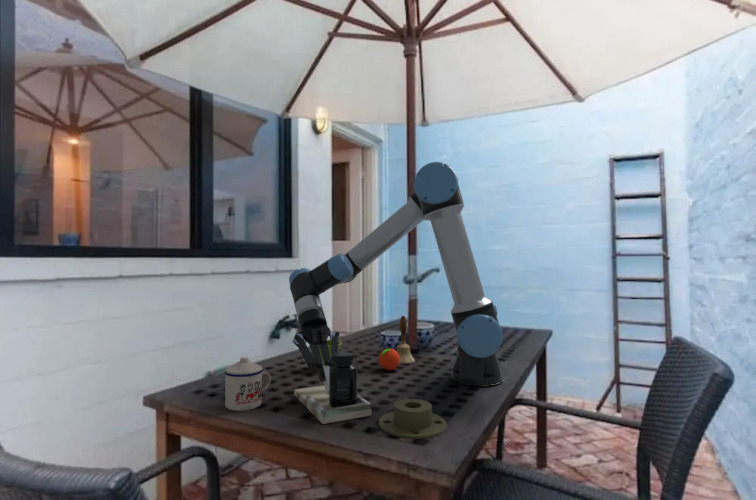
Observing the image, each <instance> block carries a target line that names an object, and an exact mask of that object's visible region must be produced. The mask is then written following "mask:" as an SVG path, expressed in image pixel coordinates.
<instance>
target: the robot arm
mask: <svg viewBox="0 0 756 500" xmlns="http://www.w3.org/2000/svg"><path fill="white" fill-rule="evenodd" d="M413 181H414V182H413V189H414V192H413V193H411V195H410V196H408V201H407V202H406V203H405V204H403V205H402V206H401V207H400V208H399V209H397V211H395V212H394V213H393V214H392V215H390V216H389V217H388V218H386V220H385V221H384V222H382V223H381V224H380V225H378V226H377V227H376V228H375V229H374V230H372V232H371V231H370V233H369V234H368V235H367V236H365V237H364V238H363V239H361V241H359V242H358V243H356V245H354V246H353V247H352V248H351V249H350V250H349V251H347V252H346V253H345V254H344V253H337V254H335V255H334V256H331V257H329V258H328V259H327V260H326V261H324V262H323V263H321V264H319V265H317V266H316V267H314V268H313V269H309V268H306V267H302V268H299V269H296V270H294V271H292V272H291V274H290V275H289V278H288V280H289V281H288V282H289V291H290V293H291V296H292V300H293V304H294V310H295V313H296V317H297V322H298V326H299V329H300V332H299V334H296V335H294V338H293V341H292V343H293V344H294V345H295V346H296V347H297V348H298V350H299V353H301V356H302V358H303V360H304V361H305V363H306V366H307V367H308V370H310V371H313V370H314V371H315V373H316V374H317V375H318V379H319V381H320V382H321V383H322V382H323V384H324V386H325V390H326V394H327V395H329V369H330V367H331V366H332V365H334V363H333V355H334V354H336V353H339V352H338V341H339V340H338V339H339V337H340V336H341V335H340V332H339V331H336V332H335V331H334V332H333V331H331V329H330V327H329V325H328V322H327V318H326V315H325V312H324V308H323V305H322V301H321V298H320V295H321V294H323V293H325V292H326V291H328V290H329V289H332V288H333V287H335V286H337V285H340V284H347V283H350V282H352V281H354V280H355V279H356V278H357V276H358V275H359V274H360V273H361V272H362V271H363V270H364V269H366V268H367V267H368V266H369V265H371V264H372V263H373V262H374V261H375V260H377V259H378V258H379V257H380V256H382V255H383V254H384V253H385V252H387V251H388V250H389V249H391V248H392V247H393V246H394V245H395V244H397V242H399V241H400V240H402V239H403V237H405V236H406V235H407V234H409V233H410V232H411V231H413V229H414V228H416V227H417V226H418V225H419V224H421V223H422V222H423V221H429V222H430V224H431V228H432V230H433V234H434V237H435V241H436V245H437V249H438V252H439V255H440V258H441V259H440V260H441V262H442V265H443V270H444V273H445V277H446V279H447V283H448V286H449V290H450V294H451V296H452V297H451V298H452V301H453V306H452V308H451V310H450V314H451V317H452V321H453V325H454V328H455V330H456V331H455V332H456V340H457V345H456V346H457V353H456V355H455V360H454V362H453V365H452V368H451V370H450V371H451V375H450V377H451V380H452V381H454V382H456V383H459V384H462V383H463V384H462V385H466V384H469V385H468V386H472V385H491V384H496V383H498V382H501V381H502V382H503V372H502V368H501V364H500V363H499V362H500V361H499V360H498V356H497V352H498V350H499V349H500V347H501V345H502V343H503V338H504V332H503V328H502V326H501V325H500V323H499V319H498V317H497V316H498V309H497V306H496V305H495V304H494V302H493V300H492V299H490V298H488V297H487V296H486V295H485V292H484V289H483V285H482V282H481V277H480V274H479V271H478V268H477V265H476V261H475V258H474V254H473V250H472V247H471V243H470V241H469V237H468V234H467V231H466V227H465V222H464V220H463V215H462V211H463V209H464V207H465V204H464V199H463V196H462V192H461V190H460V186H459V177H458V175H457V173H456V171H455V170H454V169H453V168H452V166H450V165H449V164H447V163H444V162H441V161H433V162H429V163H427V164H425V165H423V166H422V167H421V168H420V169H419V170H418V171H417V173H416V175H415V177H414V180H413ZM328 338H329V340H331V341H332V342H331V356H330V353H329V349H328V346H327V340H328ZM306 343H307V344H308V345H309V347H308V345H307V344H306ZM318 345H319V347H318ZM319 348H320V349H321V353H322V357H323V360H324V364H325V366H323V362H322V359H321V355H320V351H319Z"/></svg>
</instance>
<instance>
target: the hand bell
mask: <svg viewBox="0 0 756 500" xmlns="http://www.w3.org/2000/svg"><path fill="white" fill-rule="evenodd" d="M407 329H408V323H407V318H406V316H405V315H400V321H399V331H400V344H398V345H397V346H396V351H397V353H398V354H399V356H400V363H399V365H400V364H401V365H402V364H406V365H407V364H413V363H415V362H416V360H415V358H414V357H413V356H412V353H411V347H410V345H409V344H407V343H406V341H407V340H406V334H407V333H406V332H407Z"/></svg>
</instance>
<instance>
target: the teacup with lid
mask: <svg viewBox="0 0 756 500" xmlns="http://www.w3.org/2000/svg"><path fill="white" fill-rule="evenodd" d="M224 375H225V388H224V389H225V390H224V391H225V392H224V393H225V395H224V402H225V403H224V406H225V408H226V409H227V410H230V411H237V412H238V411H240V412H241V411H249V410H250V411H251V410H254V409H256V408H258V407H260V406H261V405H262V404H263V403H262V399H263V398H262V396H263V395H262V394H263V392H264V391H266V390H267V389H268V387H269V385H270V384H271V379H272V375H271V373H270V372H268V371H265V370H264V368H263V366H262V365H260V364H259V363H254V362H253V361H251V360H250V361H249V357H247V356H244V357H240V359H239V361H237V362H236V363H234V364H231V365H230V366H228V367H226V368H225V371H224ZM263 375H266V382H265V383H264V385H263Z"/></svg>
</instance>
